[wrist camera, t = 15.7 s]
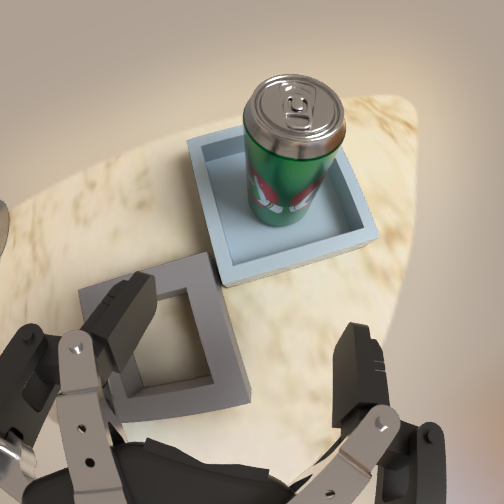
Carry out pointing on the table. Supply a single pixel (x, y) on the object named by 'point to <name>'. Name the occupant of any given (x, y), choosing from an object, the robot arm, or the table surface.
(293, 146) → the soda can
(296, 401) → the table surface
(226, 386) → the socket block
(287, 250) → the parts tray
